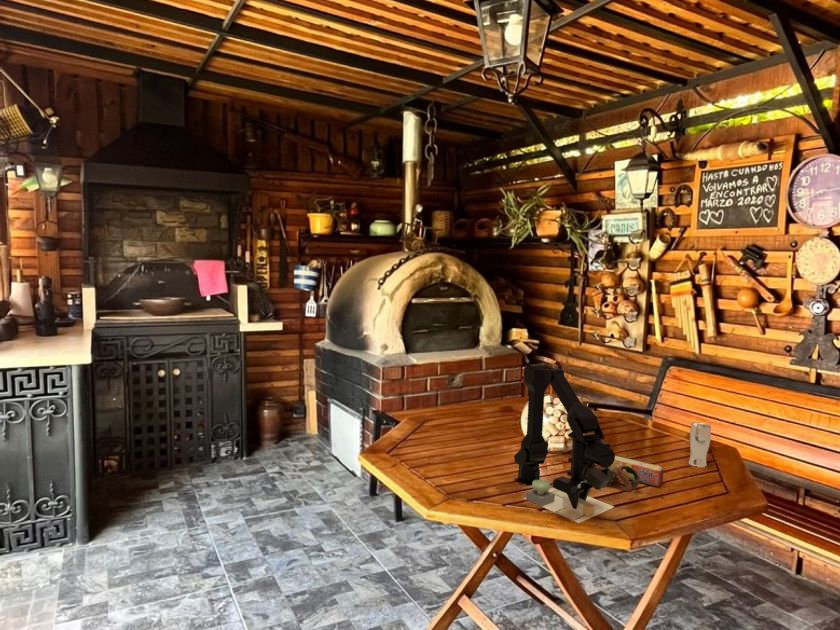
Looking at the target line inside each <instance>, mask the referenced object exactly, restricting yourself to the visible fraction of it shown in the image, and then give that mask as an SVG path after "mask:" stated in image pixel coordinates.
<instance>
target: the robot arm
mask: <svg viewBox="0 0 840 630" xmlns="http://www.w3.org/2000/svg"><path fill="white" fill-rule="evenodd" d="M523 378H524V384H525V385H526V387H527V390H528V404H527V423H526V424H527V425H526V434H525V436H524V437H523V439H522V440H521V442H520V443H521V444H520V450H518V452H516V453H515V454H514V456H513V459H514V463H515V464H517V465H518V473H517V477H515V478H514V481H517V482H519V483H520V484H524V485H526V486H531V485H532V482H533V481H534V480H541V479H540V478H541V470H540V465H545V464H544V463H545V461H546V458H547V456H548V454H549V442H548V441H547V440H546V439H545V438H544V436H543V426H544V408H545V392H546V390H547V389H548V388H549V386H551V388H552V390H553V391H554V393H555V394H556V396H557V397H558V400H559V401H560V403H561V404H562V407H563V408H564V410H565V411H566V420H567V421H566V422H567V423H568V426H569V429H570V430H571V432H570V433H569V434H567V436H568V437H569V438H571V439H572V444H571V445H572V446H571V456H570V457H568V458H567V459H568V460H567V462H569V463H570V470H568V471H566V472H567V473H566V475H567V476H569V477H566V476H564V475H561V476H558V477H556V478H554V479H553V480H552V485H551V486H552V487H551V488H555V489H557V490H560V491H562V492H564V493H567V495H568V498H569V500H570V502H571V505H572V507H573V508H574V509H577V505H578V499H579V498H580V499H583V500H585V501H586V498H587V496H589V493H590V491H591V490H592V489H595V490H597V491H600V490H602V489H604V488H606V487H607V486H608V485H607V483H608V482H610V481H611V470H610V469H609V468H608V467H610V466H611V465H612V464H613V462H614V460H615V456H616V454H615V451H614V449H612V448H611V444H610V442H608V441H604V440H605V438H606V437H605V435H604V432H603V430H602V429H601V426H600V423H599V419H598V417H597V415H596V414H595V413H594V412H593V411H592V410H591V408H590V407H588V406H586V405H584V404H583V403H582V401H581V400H580V398H579V397H578V395H577V394H576V392H575V391H574V388H573V387H572V386H571V384H570V383H569V381H568V380H567V378H566V376H565V372H564V370H563V369H562V368H559V367H553V366H552V367H551V366H549V365H548V364H547V363H537V364H535V363H534V364H528V365H526V366H525V368H524V370H523ZM597 465H599V466H601V467H603V468H605V469H603V470H602V469H601V468H597Z"/></svg>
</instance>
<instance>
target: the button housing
mask: <svg viewBox="0 0 840 630" xmlns="http://www.w3.org/2000/svg"><path fill="white" fill-rule="evenodd" d="M525 498H526V499H525V501H528V502H530V503H533V504H534V505H537V506H538V507H539V506H540V507H541V506H544V505H547V504H549V503H552V502H554V498H555V494H554V493H551V492H549V491H544V495H542V496H541V495H538V494H537V490H535V489H533V488H532V489H530V490H529V491H526V493H525Z"/></svg>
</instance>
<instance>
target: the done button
mask: <svg viewBox="0 0 840 630" xmlns="http://www.w3.org/2000/svg"><path fill="white" fill-rule="evenodd" d="M550 487H551V483H550V482H549V481H547V480H543V479H540V480H534V481H533V482H532V486H531V488H532V490H533V489H535V490H537V494H538V495H541V496H542V495H544V491H548V490H550Z"/></svg>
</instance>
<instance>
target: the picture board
mask: <svg viewBox="0 0 840 630" xmlns="http://www.w3.org/2000/svg"><path fill="white" fill-rule="evenodd" d="M548 491H549V492H551V493H554V494H555V498H554V502H552V503H549V504H547V505H544V506H540V507H541V508H543V509H546V510H548V511H551V512H552V513H555V514H558V515H560V516H561V517H564V518H566V519H568V520H570V521H572V522H575V523H577V524H581V523H582V522H584V521H588V520H589V519H591V518H593V517H595V516H596V517H597V516H598V515H601V514H602V513H604V512H607V511H609V510H611V509H613V508H614V505H611V504H608V503H607V502H604V501H600V500H598V499H596V498H593V497H591V496H589V495H588V496H587V498H586V501H588V502H589V503H590V504H593V505H595V506H594V514H593V515H590V516H587V515H585V514H580V513H578V512H575V511H573V510H571V509H568V508H566V507H564V506H562V504H563V496H565V495H567V493H564V492H562V491H560V490H557V489H555V488H553V487H551V488H550V490H548ZM523 499H524V500H526V497H523Z"/></svg>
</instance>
